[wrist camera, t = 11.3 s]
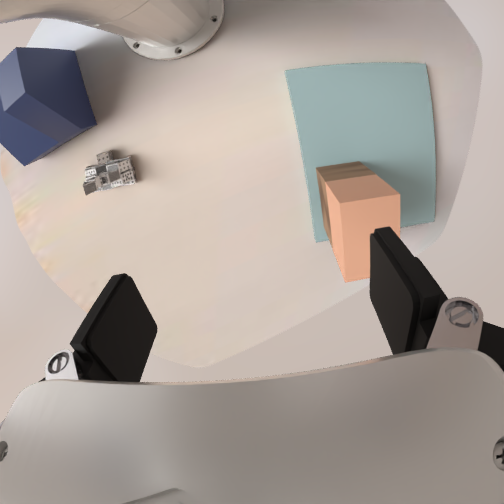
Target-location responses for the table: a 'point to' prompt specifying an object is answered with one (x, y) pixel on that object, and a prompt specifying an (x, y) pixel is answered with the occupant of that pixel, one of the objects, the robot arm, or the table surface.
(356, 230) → the terracotta brick
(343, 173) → the walnut brick
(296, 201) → the table surface
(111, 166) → the miniature building cluster
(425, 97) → the board
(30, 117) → the blue angular block
